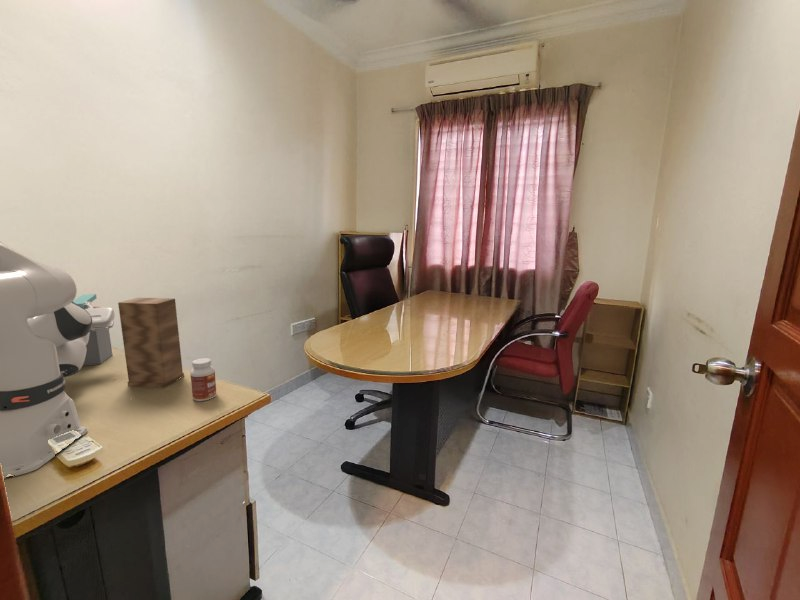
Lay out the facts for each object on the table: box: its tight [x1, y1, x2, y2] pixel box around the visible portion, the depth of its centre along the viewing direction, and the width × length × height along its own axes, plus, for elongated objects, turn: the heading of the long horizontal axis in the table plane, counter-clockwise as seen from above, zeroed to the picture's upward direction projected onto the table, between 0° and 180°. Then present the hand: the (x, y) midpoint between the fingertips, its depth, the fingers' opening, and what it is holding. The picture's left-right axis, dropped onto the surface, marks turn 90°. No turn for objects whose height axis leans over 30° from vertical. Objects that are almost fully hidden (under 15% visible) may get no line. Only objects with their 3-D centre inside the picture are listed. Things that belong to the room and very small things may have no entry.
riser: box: [83, 328, 113, 366], centre depth 133 cm, size 9×9×14 cm
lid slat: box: [72, 293, 97, 308], centre depth 130 cm, size 20×4×2 cm, turn 29°
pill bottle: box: [190, 357, 217, 402], centre depth 107 cm, size 6×6×11 cm
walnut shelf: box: [117, 297, 185, 389], centre depth 116 cm, size 12×9×26 cm
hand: (77, 303), depth 124 cm, fingers closed on lid slat, 4 cm apart
